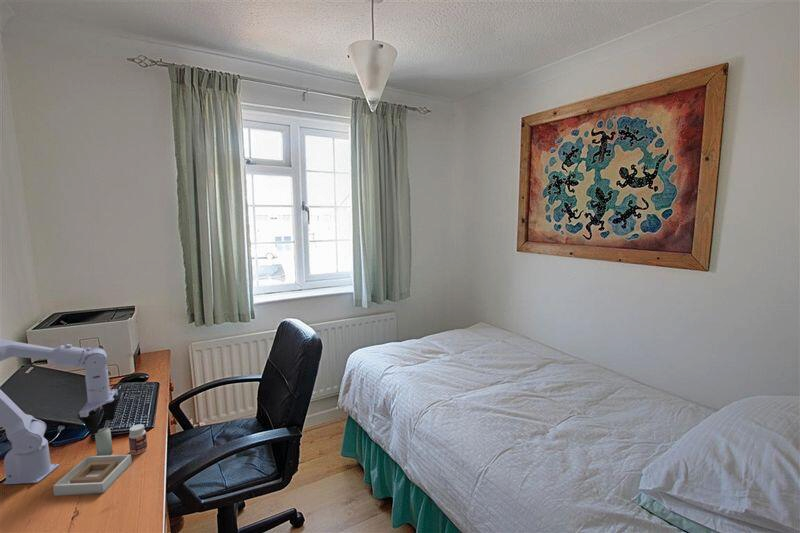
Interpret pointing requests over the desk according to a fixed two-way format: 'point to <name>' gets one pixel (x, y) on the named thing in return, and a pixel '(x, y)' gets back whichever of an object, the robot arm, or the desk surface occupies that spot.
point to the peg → (103, 442)
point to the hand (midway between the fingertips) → (102, 426)
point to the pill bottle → (137, 439)
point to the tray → (92, 475)
